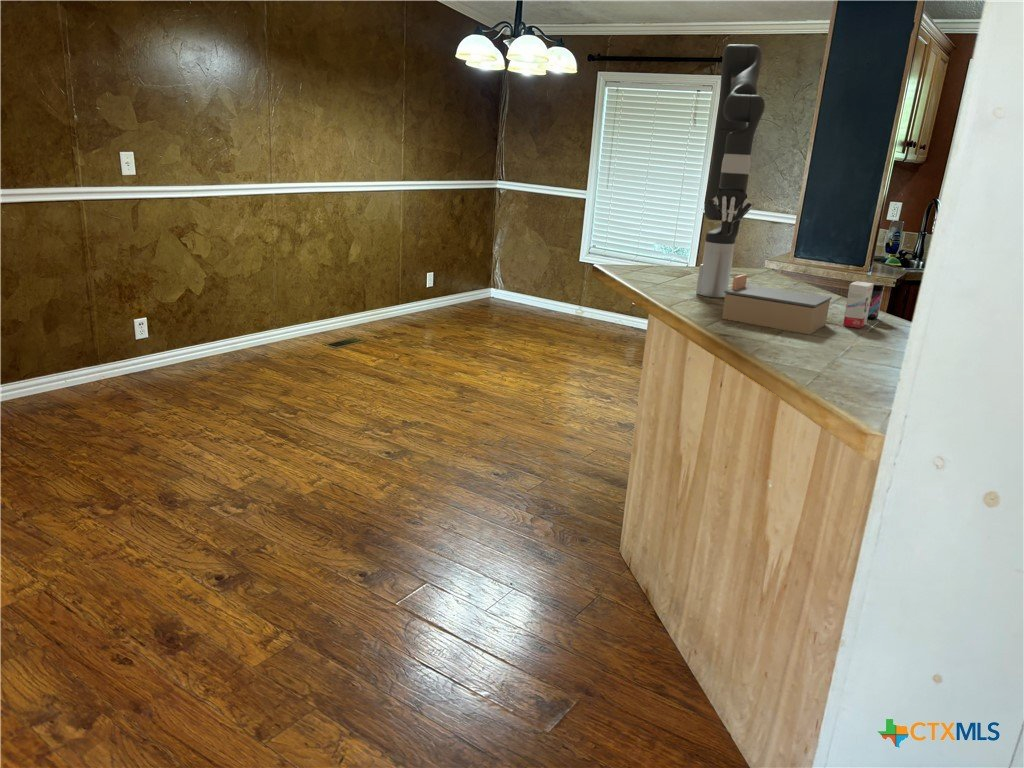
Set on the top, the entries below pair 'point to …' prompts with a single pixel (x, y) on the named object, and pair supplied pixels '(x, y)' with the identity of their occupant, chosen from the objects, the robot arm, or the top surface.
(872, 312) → the supplement container
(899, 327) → the top surface
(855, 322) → the ink box
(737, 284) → the mailer lid
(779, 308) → the box
